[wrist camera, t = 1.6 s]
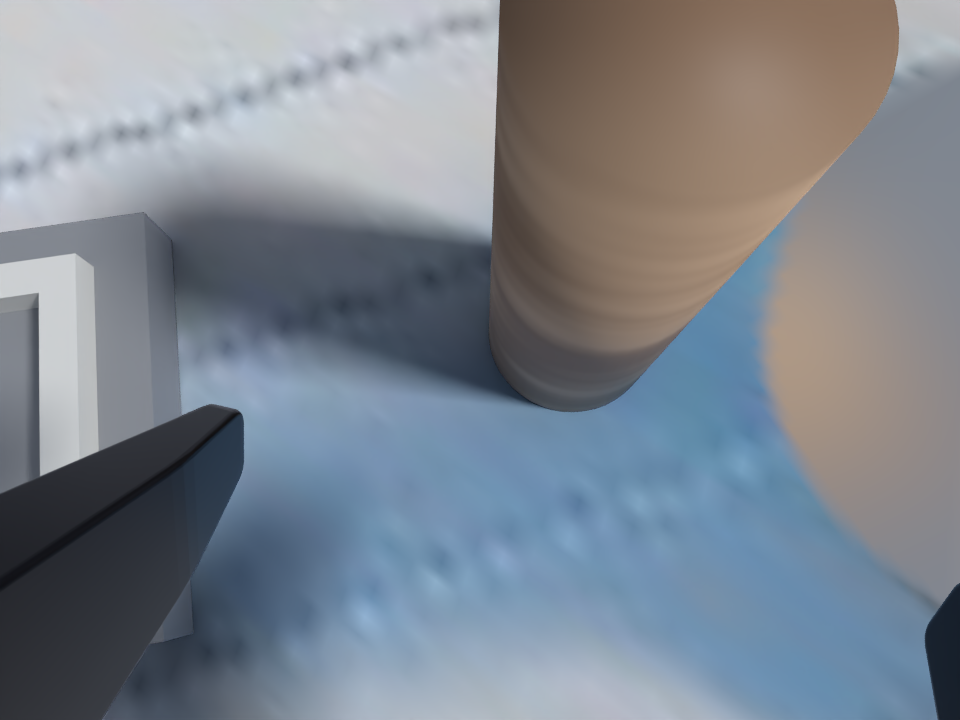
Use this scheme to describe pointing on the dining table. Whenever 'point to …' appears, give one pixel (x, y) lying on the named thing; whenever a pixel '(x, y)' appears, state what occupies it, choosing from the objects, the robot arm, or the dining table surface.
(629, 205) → the post
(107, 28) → the dining table surface
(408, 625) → the dining table surface
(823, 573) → the dining table surface
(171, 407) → the base
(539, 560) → the dining table surface
